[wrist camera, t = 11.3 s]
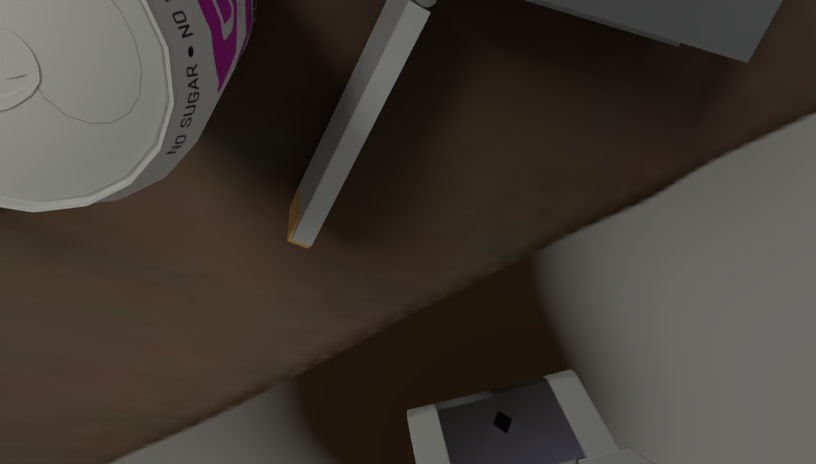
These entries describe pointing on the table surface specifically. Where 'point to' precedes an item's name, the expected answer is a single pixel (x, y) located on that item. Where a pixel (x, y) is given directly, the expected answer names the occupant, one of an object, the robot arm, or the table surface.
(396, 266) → the table surface
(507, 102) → the table surface
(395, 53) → the side door
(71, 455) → the table surface
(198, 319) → the table surface
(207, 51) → the supplement can
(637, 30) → the camera body
